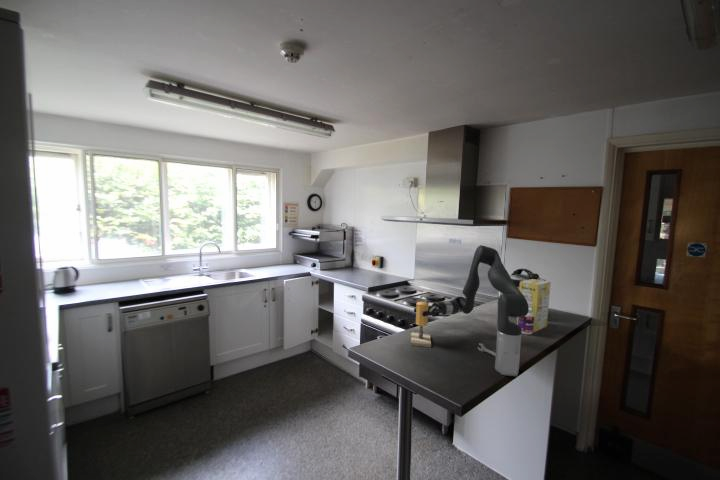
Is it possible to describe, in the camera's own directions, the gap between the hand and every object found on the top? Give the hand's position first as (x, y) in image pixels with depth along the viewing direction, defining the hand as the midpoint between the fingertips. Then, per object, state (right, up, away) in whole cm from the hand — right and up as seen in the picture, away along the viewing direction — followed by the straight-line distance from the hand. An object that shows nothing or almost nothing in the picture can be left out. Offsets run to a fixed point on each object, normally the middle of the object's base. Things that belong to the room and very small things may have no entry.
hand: (418, 312), depth 163 cm
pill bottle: (+66, -17, +20) cm, 71 cm away
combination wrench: (+33, -18, -14) cm, 41 cm away
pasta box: (+76, -16, +31) cm, 84 cm away
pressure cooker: (+83, -15, +58) cm, 102 cm away
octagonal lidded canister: (+2, -6, +2) cm, 7 cm away
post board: (+1, -16, +2) cm, 16 cm away
